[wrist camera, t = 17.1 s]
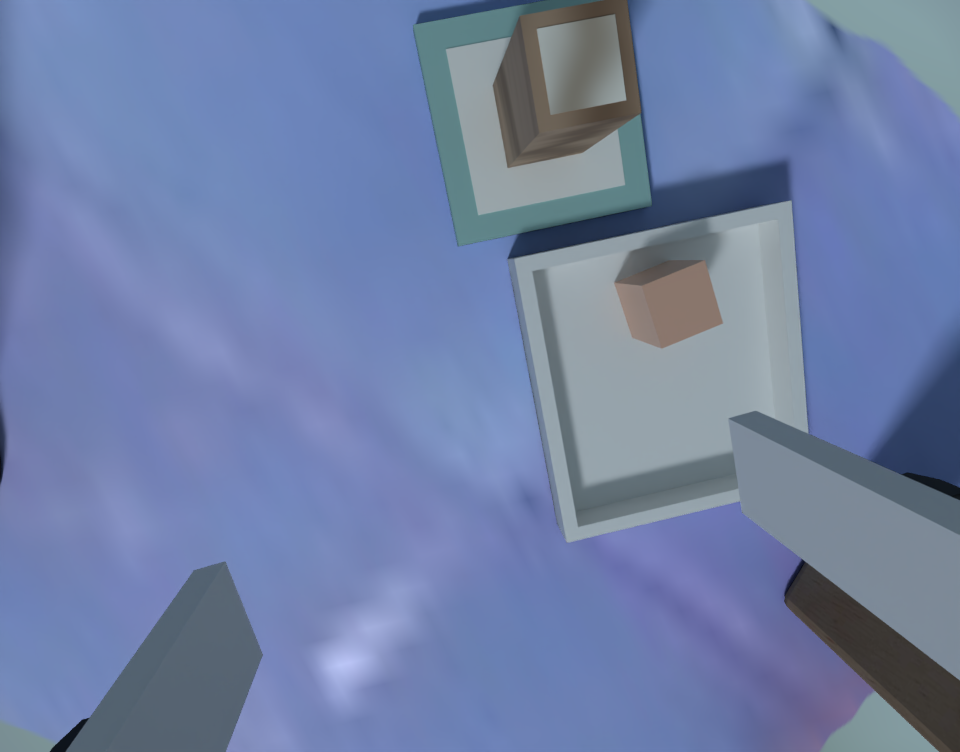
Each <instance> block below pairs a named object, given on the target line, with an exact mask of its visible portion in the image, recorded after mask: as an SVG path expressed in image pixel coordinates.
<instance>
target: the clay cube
mask: <svg viewBox="0 0 960 752" xmlns="http://www.w3.org/2000/svg"><path fill="white" fill-rule="evenodd" d="M614 284H615V287H616V290H617V293H618V296H619V299H620V303H621V306H622V309H623V312H624V315H625V318H626V321H627V324H628V327H629V330H630V333H631V336H632V338H634V339H637V340H639V341H642V342H645V343H648V344H650V345H653V346H656V347H658V348H661V349H662V348H665V347H667V346H670V345H672V344H674V343H677V342H679V341H682V340H684V339H687V338H689V337H691V336H694V335H696V334H699V333H701V332H704V331H706V330H709V329H711V328H713V327H716V326H718V325H721V324H723V321H722V318H721V314H720V311H719V307H718V304H717V300H716V297H715V293H714V290H713V286H712V283H711V279H710V276H709V272H708V269H707V265H706V262H705V260H668V261H666V262H664V263H661V264H659V265H656V266H654V267H651V268H649V269H646V270H644V271H641V272H639V273H637V274H634V275H632V276H629V277H627V278H624V279H622V280H619V281H617V282H614Z"/></svg>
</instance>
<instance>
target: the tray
mask: <svg viewBox="0 0 960 752" xmlns="http://www.w3.org/2000/svg"><path fill="white" fill-rule="evenodd" d="M668 260H705V262H706V265H707V269H708V272H709V276H710V279H711V283H712V286H713V290H714V293H715V297H716V300H717V304H718V307H719V311H720V314H721V318H722V321H723V324H721V325H718V326H716V327H713V328H711V329H709V330H706V331H704V332H701V333H699V334H696V335H694V336H691V337H689V338H687V339H684V340H682V341H679V342H677V343H674V344H672V345H670V346H667V347H665V348H662V349H661V348H658V347H656V346H653V345H650V344H648V343H645V342H642V341H639V340H637V339H634V338H632V336H631V333H630V330H629V327H628V324H627V321H626V318H625V315H624V312H623V309H622V306H621V303H620V299H619V296H618V293H617V290H616V287H615V284H614V282H617V281H619V280H622V279H624V278H627V277H629V276H632V275H634V274H637V273H639V272H641V271H644V270H646V269H649V268H651V267H654V266H656V265H659V264H661V263H664V262H666V261H668ZM508 265H509V270H510V275H511V281H512V286H513V291H514V297H515V302H516V307H517V313H518V318H519V323H520V329H521V334H522V339H523V345H524V350H525V355H526V360H527V366H528V371H529V376H530V382H531V387H532V392H533V398H534V403H535V408H536V414H537V419H538V424H539V430H540V435H541V440H542V446H543V451H544V456H545V462H546V467H547V472H548V478H549V483H550V488H551V493H552V499H553V504H554V509H555V515H556V520H557V524H558V526H559V528H560V530H561V532H562V534H563V536H564V538H565V540H566V542H567V543H568V542H572V541H577V540H581V539H585V538H589V537H593V536H597V535H601V534H606V533H610V532H614V531H618V530H622V529H626V528H631V527H635V526H639V525H643V524H647V523H651V522H656V521H660V520H664V519H668V518H672V517H676V516H680V515H685V514H689V513H693V512H697V511H701V510H705V509H710V508H714V507H718V506H722V505H726V504H730V503H735V502H739V501H740V495H739V488H738V481H737V475H736V468H735V461H734V455H733V448H732V441H731V435H730V428H729V421H728V418H731V417H735V416H738V415H742V414H745V413H749V412H752V411H758V412H760V413H762V414H765V415H767V416H769V417H771V418H774V419H776V420H778V421H781V422H783V423H785V424H787V425H790V426H792V427H794V428H796V429H799V430H801V431H803V432H806V433H808V422H807V408H806V394H805V380H804V367H803V353H802V339H801V325H800V312H799V298H798V284H797V270H796V257H795V243H794V229H793V215H792V202H791V201H785V202H779V203H773V204H767V205H762V206H757V207H752V208H748V209H743V210H738V211H733V212H728V213H724V214H719V215H714V216H709V217H705V218H700V219H695V220H690V221H686V222H681V223H676V224H671V225H667V226H662V227H657V228H652V229H648V230H643V231H638V232H633V233H629V234H624V235H619V236H614V237H610V238H605V239H600V240H595V241H591V242H586V243H581V244H576V245H572V246H567V247H562V248H557V249H553V250H548V251H543V252H538V253H533V254H529V255H524V256H519V257H514V258H510V259H508Z"/></svg>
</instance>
